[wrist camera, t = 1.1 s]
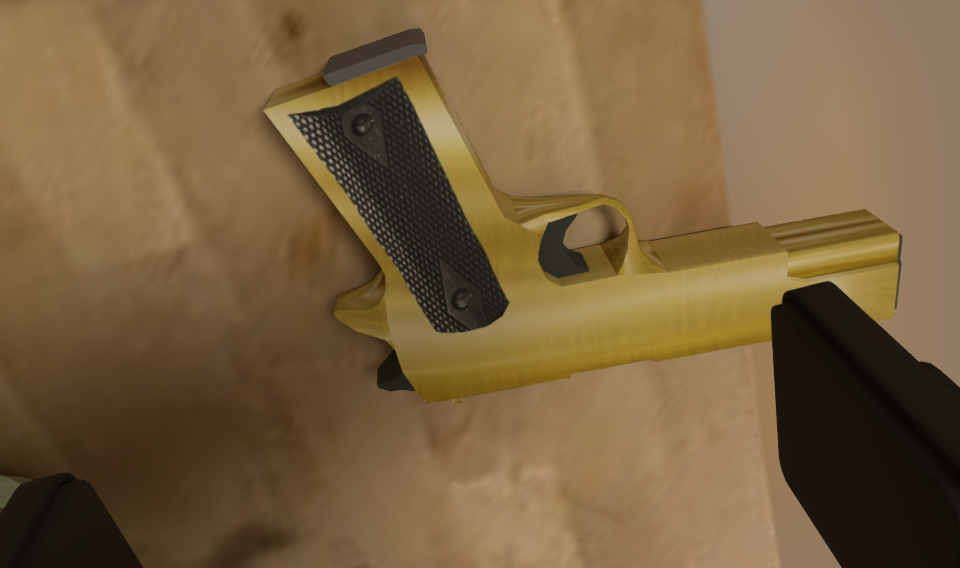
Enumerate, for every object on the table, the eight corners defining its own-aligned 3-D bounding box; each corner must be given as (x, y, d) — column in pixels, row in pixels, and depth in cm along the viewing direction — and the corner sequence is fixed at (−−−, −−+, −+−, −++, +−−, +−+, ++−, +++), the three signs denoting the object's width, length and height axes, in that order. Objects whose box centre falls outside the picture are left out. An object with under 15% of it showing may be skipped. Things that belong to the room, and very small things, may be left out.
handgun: (252, 73, 21) (355, 426, 27) (946, -52, 21) (904, 325, 27) (266, 54, 23) (358, 384, 29) (895, -58, 23) (865, 291, 29)
